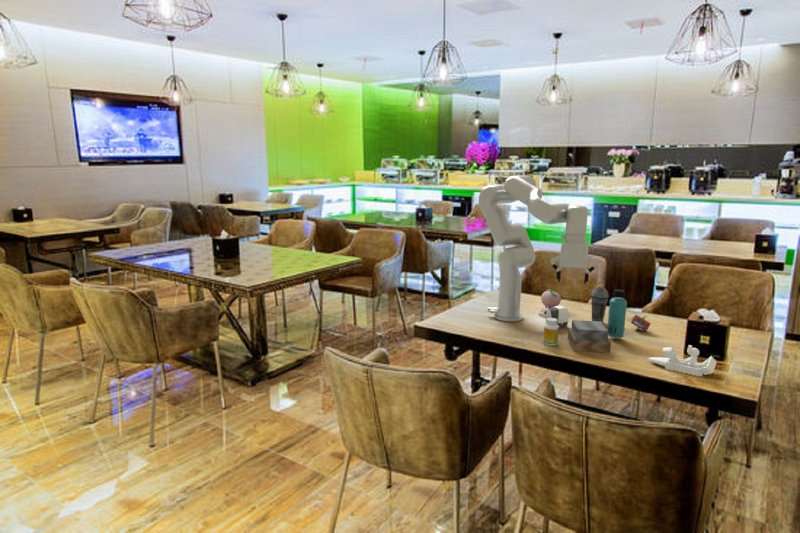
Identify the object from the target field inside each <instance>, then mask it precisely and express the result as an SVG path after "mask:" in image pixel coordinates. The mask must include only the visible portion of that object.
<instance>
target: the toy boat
mask: <svg viewBox="0 0 800 533" xmlns="http://www.w3.org/2000/svg"><path fill="white" fill-rule="evenodd" d="M662 351H663V354H664V356H665V357H660V356H659V357H658V356H654V357H653V356H652V357H648V360H649V361H651V362H652V363H654V364H656V365H659V366H662V367H664V369H665V370H669V369H670V370H669V371H673V370H676V371H675V372H677V371H679V372H678V373H681V372H683V373H682V374H685V373H688V374H687V375H690V374H692V375H691V376H694V375H696V376H695V377H700V376H702V377H703V375H705V376H707V375H710V374H711V375H712V374H713V373H714V371H715V368H716V365H717V361H716V359H715V358H714V357H713V356H712V355H711V356H709V357H708V358H707V359H706V360H704V361H703V362H697V361H698V356H699V355H700V350H699V349H698V348H696V347H693V345H690V344H688V346H687V350H686V353H687V355H690V357H687V358H683V359H682V358H679V355H678V353H677V351H676V350H675V348H674V347H671V346H670V347H668V346H667V347H663V348H662Z"/></svg>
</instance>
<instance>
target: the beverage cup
mask: <svg viewBox="0 0 800 533" xmlns="http://www.w3.org/2000/svg"><path fill="white" fill-rule="evenodd" d="M603 278H604V277H601V279H600V281H601V282H600V286H596V287H595V288H593V290H592V291H591V294H590V301H591V321H601V322H602V323H603V324H604V320H605V315H606V309H607V304H608V300H609V292H608V290H607V289H606V288H605V287H603Z"/></svg>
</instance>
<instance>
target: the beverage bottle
mask: <svg viewBox="0 0 800 533" xmlns="http://www.w3.org/2000/svg"><path fill="white" fill-rule="evenodd" d="M625 295H626V291H625V290H624V289H614V290H613V296H614V297H612V298H610V300H609V306H608V316H607V318H608V319H607V325H606V328H607V330H608V337H610V338H615V339H617V338H619V339H621V338H623V337H624V335H625V325H626V314H627V313H626V312H627V305H628V301H627V300H626V299H625V298H623V297H625Z"/></svg>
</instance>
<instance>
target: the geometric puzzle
mask: <svg viewBox="0 0 800 533" xmlns="http://www.w3.org/2000/svg"><path fill="white" fill-rule="evenodd" d="M646 318H647V319H646ZM630 324H631V325H633V329H634V332H638V331H639V330H641V331H643V332H646V333H647V331H648V330H649V328H650V326H651V324H652V323H651V322H649V318H648V317H647V315H643V316H642V317H641V316H640V315H639V314H635V315H634V316H632V317H631V322H630ZM635 327H636V328H635Z"/></svg>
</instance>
